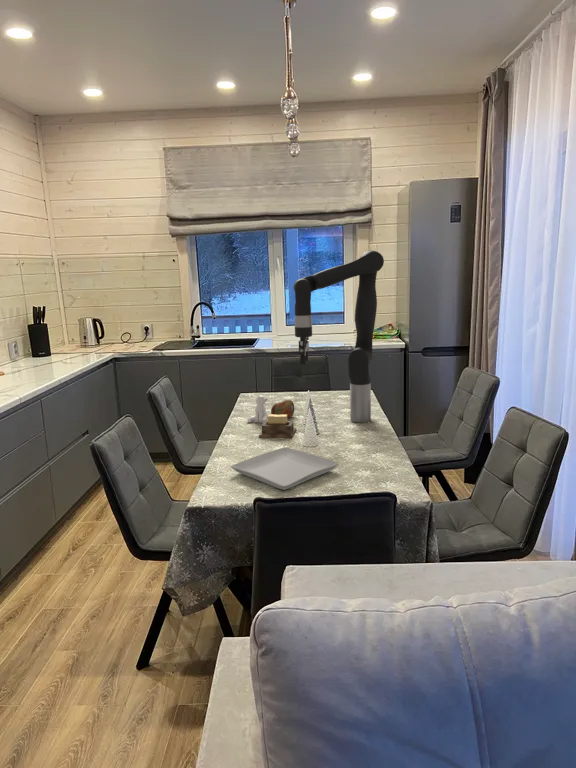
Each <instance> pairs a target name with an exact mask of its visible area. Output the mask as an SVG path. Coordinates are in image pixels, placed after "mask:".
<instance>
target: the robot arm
mask: <svg viewBox="0 0 576 768" xmlns="http://www.w3.org/2000/svg"><path fill="white" fill-rule="evenodd" d="M384 261H385V259H384V256H383V255H382V254H381V253H380V252H378V251H376V250H372V249H371V250H366V251H364V252H363V253H362V254H360V257H359V258H357V259H356V260H353V261H351V262H348V263H344V264H341V265H336V266H333V267H330V268H327V269H324V270H321V271H318V272H317V273H314V274H312V275H307V276H305V277H301V278H299V279H297V280H295V281H294V284H293V291H294V299H295V303H294V336H295V338H299V341H298V355H299V363H300V365H306V362H308V361H309V350H310V340H309V339H310V338H312V336H313V318H312V303H311V302H312V301H311V299H312V293H313V292H314V291H317V290H321V289H322V290H323V289H324V288H327V287H328V288H329V287H331V286H333V285H336V284H338V283H342V282H343V281H346V280H348V279H351V278H355V277H358V279H359V280H358V287H357V293H356V302H355V309H354V323H355V330H356V331H355V332H356V339H355V346H354V349H353V350H351V351H350V352H349V354H348V358H347V366H348V367H347V368H348V369H347V370H348V378H349V396H350V397H349V399H350V400H349V401H350V403H349V406H350V407H349V408H350V410H349V412H350V413H349V415H350V417H349V418H350V421H351V422H355V423H368V422H370V423H371V422H372V397H371V395H372V389H371V388H372V387H371V386H372V385H371V384H372V383H371V382H372V380H371V379H372V378H371V376H370V374H369V373H370V370H369V367H370V366H369V365H370V364H371V363H372V360H373V336H374V332H375V324H376V318H377V317H376V316H377V310H378V308H377V307H378V299H377V298H378V297H377V287H376V286H377V285H376V283H377V282H376V281H377V275H378V272H379V271H380V270H381V269H382V268H383V266H384V263H385V262H384Z"/></svg>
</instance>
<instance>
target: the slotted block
mask: <svg viewBox="0 0 576 768" xmlns="http://www.w3.org/2000/svg"><path fill="white" fill-rule="evenodd" d="M287 423H288V425H268V420H267V421H265V422H264V423H261V432H259V435H258V438H260V439H261V438H263V439H269V438H270V439H277V438H278V439H293V437H294V435H295V434H296V432H297V427H295V426H294V421H293V420H292V421H290V420H287Z"/></svg>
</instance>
